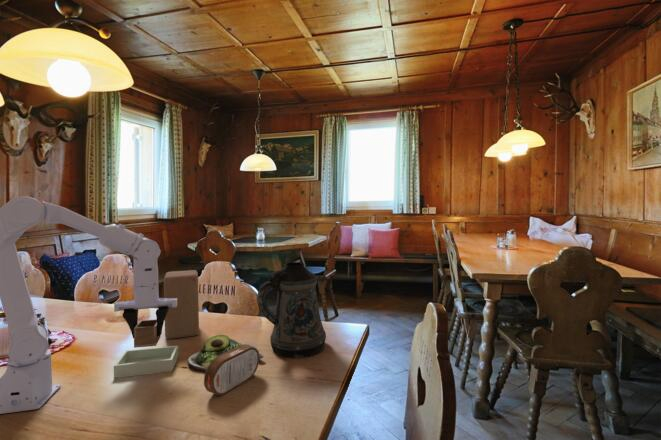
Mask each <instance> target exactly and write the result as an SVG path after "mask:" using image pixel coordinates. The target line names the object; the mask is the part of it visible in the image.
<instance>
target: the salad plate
mask: <svg viewBox="0 0 661 440" xmlns="http://www.w3.org/2000/svg"><path fill="white" fill-rule="evenodd" d="M244 344H245V343H241V342H239V341H236V340H234V339H233V338H230V337H229V336H228V335H225V334H217V335H214V336H211V337H210V338H208V339H206V340H205V341H204V343H203V345H202V346H203V348H202V349H200V350H199V351H196V353H193V354H192V355H191V356H189V357H188V358H187V365H188V366H189V367H190V368H192V369H194V370H197V371H203V372H206V370H207V368H208V366H209V365H210V363H211V362H212V361H213V360H214V359H215V358H216V357H217V356H219V355H221V354H224V353H226V352H228V351H230V350H232V349H235V348H237V347H239V346H241V345H244ZM248 345H250V346H252V347H254V348H256V349H257V350H258V352H260V351H259V348H258V347H257V346H256V345H255V344H248ZM263 358H264V355H263V354H262V353H259V360H260V359H263Z"/></svg>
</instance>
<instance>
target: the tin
mask: <svg viewBox="0 0 661 440" xmlns="http://www.w3.org/2000/svg"><path fill="white" fill-rule="evenodd" d="M243 344H244V345H241V346H239V347H237V348H235V349H232V350H230V351H228V352H226V353H224V354H221V355H219V356H217V357H216V358H215V359H214V360H213V361H212V362H211V363H210V365H209V366H208V368H207V370H206V371H205V373H204V376H203V377H204V378H203V386H204V387H205V390H206V391H207V392H209V393H212V394H214V395H217V396H223V395H225V394H227V393H228V392H230V391H232V390H234V389H235V388H237V387H240V385H242V384H244V383H247V381H249V380H250V379H251V378H253V376H254V375H255V374H256V371H257V369H258V367H259V362H260V361H259V360H260V359H259V354H260V353H259V352H260V351H259V349H258V350H257V349H256V348H254V347H252V346H250V345H251V344H250V345H248V344H247V343H243ZM258 351H259V352H258Z"/></svg>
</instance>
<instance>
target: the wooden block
mask: <svg viewBox="0 0 661 440" xmlns="http://www.w3.org/2000/svg"><path fill="white" fill-rule="evenodd" d="M198 273H199V272H198V271H197V270H195V269H193V270H192V269H189V270H177V271H175V270H174V271H168V272H166V273H165V275H164V278H163V298H177V307H170V308H169V310H168V312H167V314H166V317H165V320H164V337H165V339H166V340H171V339H173V340H174V339H179V338H180V339H181V338H187V337H195V336H198V335H199V333H200V313H199V312H200V311H199V274H198Z"/></svg>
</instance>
